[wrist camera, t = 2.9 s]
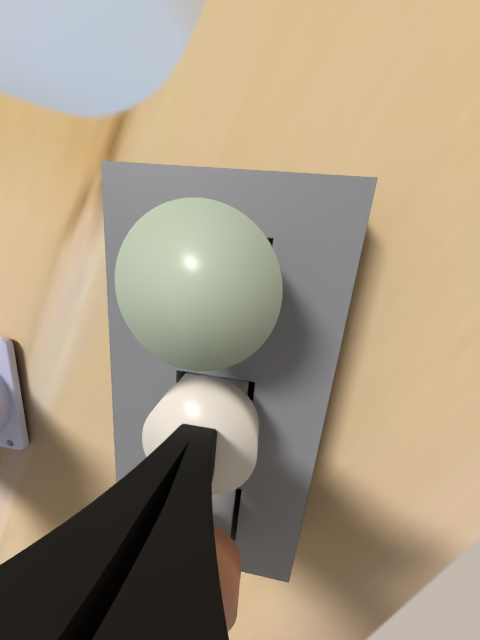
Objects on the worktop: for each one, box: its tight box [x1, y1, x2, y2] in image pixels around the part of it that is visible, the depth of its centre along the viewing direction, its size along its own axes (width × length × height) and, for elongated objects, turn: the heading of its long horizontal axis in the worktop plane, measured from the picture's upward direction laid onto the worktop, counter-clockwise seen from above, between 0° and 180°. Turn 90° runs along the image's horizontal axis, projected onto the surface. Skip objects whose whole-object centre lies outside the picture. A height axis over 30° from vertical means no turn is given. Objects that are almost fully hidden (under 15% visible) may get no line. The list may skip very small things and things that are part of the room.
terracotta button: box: [212, 489, 242, 631], centre depth 11 cm, size 4×4×4 cm
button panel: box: [101, 161, 377, 582], centre depth 12 cm, size 20×10×2 cm, turn 174°
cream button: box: [142, 372, 259, 495], centre depth 11 cm, size 4×4×4 cm
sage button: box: [115, 198, 283, 371], centre depth 8 cm, size 4×4×4 cm
